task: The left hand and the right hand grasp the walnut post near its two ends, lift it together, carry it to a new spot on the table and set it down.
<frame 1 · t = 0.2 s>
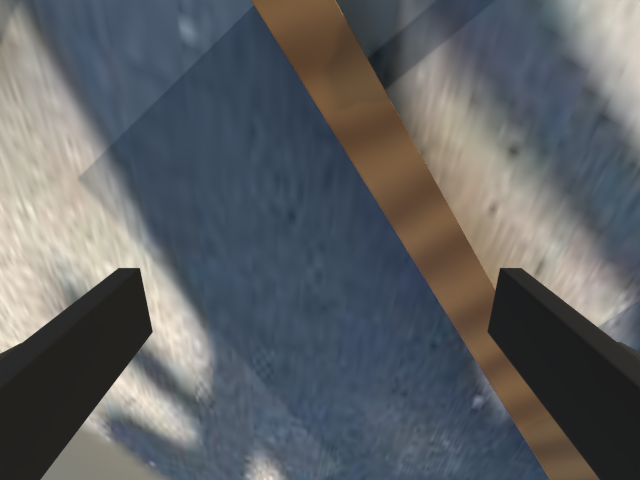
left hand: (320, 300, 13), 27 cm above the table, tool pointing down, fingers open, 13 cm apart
post: (454, 284, 43), on the table
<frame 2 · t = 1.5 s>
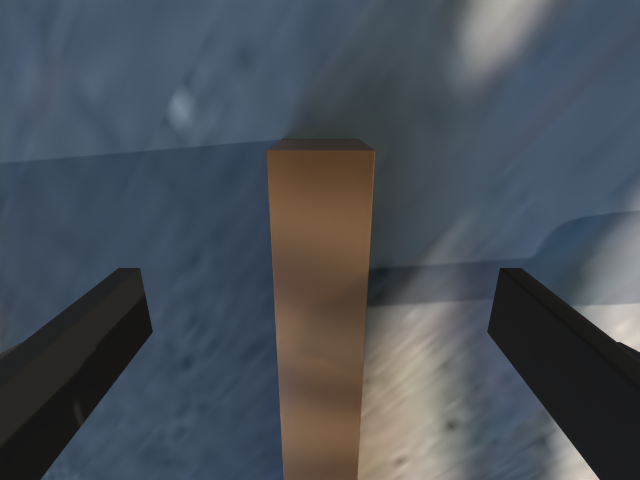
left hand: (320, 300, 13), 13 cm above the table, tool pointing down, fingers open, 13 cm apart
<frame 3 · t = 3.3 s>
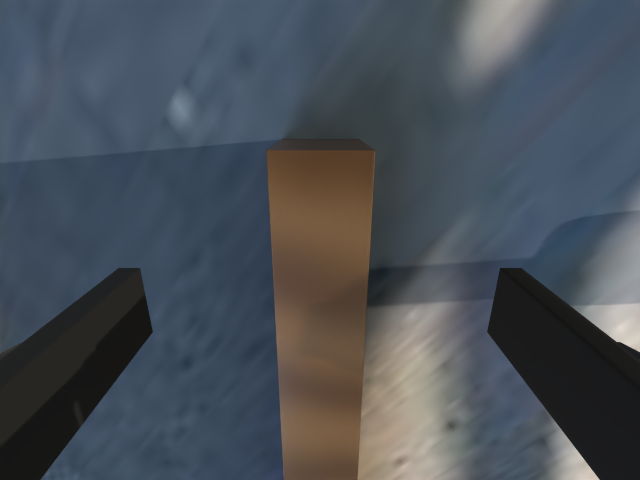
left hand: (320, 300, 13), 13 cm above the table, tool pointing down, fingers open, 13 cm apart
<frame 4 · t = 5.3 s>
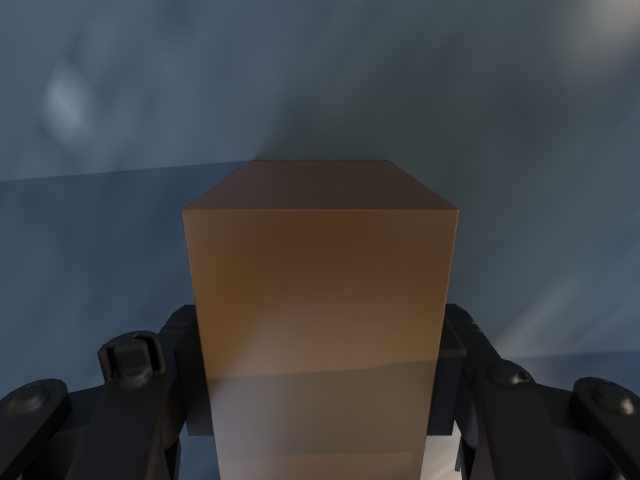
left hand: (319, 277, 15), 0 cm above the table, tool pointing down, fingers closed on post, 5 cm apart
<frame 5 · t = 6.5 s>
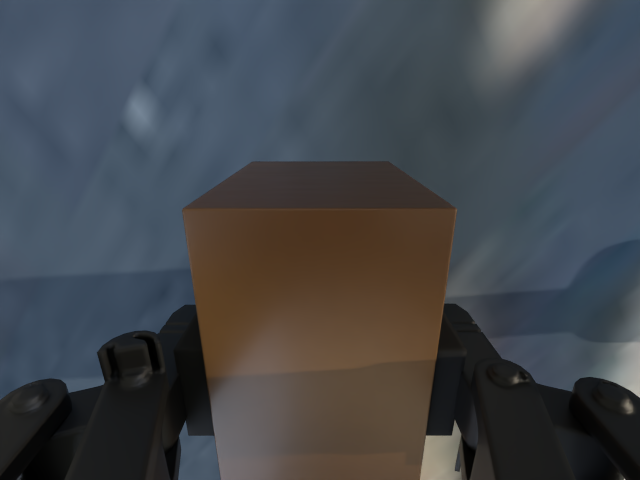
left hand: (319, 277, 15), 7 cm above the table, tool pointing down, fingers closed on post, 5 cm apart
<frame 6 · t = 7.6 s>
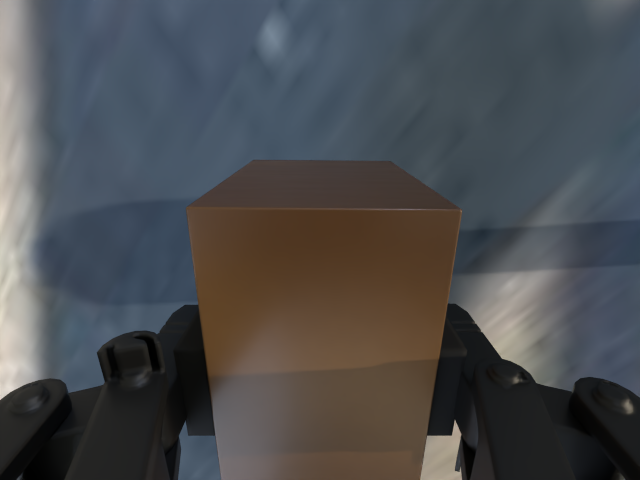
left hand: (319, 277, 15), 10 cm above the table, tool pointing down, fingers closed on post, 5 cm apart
when the left hand's fingers open (2 cm above the table, at t = 9.8 s): post drops 1 cm, on the table.
when the right hand's fingers open (2 cm above the table, at t = 9.8 s): post drops 1 cm, on the table.
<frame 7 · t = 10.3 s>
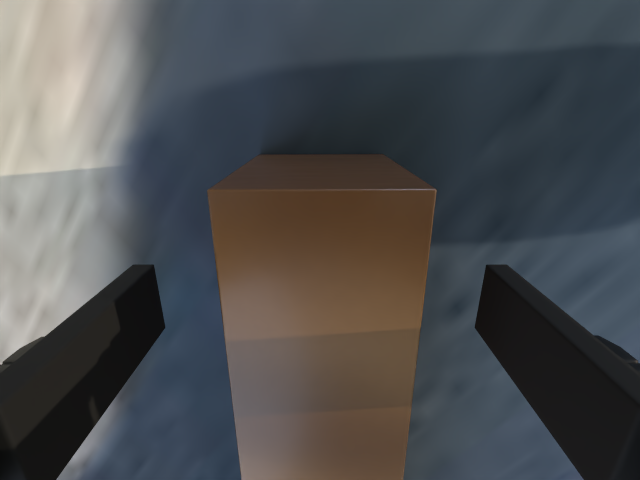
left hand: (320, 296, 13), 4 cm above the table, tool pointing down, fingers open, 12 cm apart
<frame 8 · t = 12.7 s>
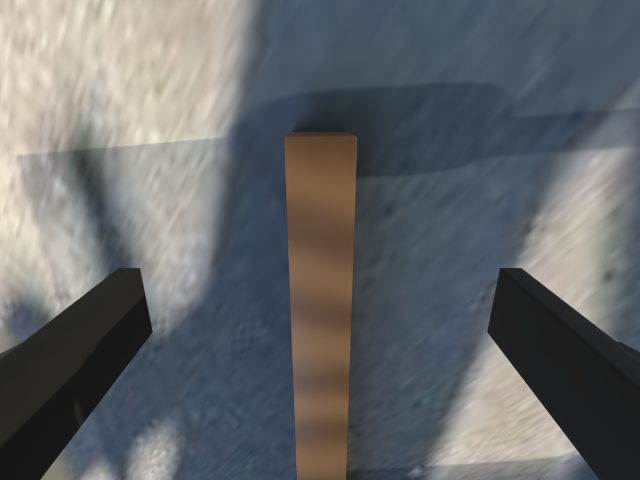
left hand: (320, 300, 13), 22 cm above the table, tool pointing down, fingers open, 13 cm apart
post: (321, 431, 45), on the table
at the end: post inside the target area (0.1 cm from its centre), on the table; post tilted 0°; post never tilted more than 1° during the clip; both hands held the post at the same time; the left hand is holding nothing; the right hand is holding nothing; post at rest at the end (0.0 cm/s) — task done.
